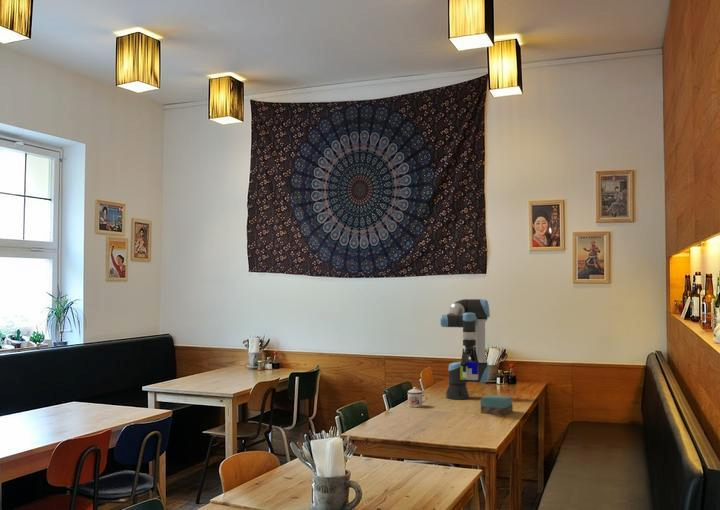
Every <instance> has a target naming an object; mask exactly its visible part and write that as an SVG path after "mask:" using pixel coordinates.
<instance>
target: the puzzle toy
mask: <svg viewBox="0 0 720 510" xmlns="http://www.w3.org/2000/svg"><path fill="white" fill-rule="evenodd" d="M459 362H460V380H478V378H479V361H474V360H471V359H470V360H469V359H468V363H467V370H468V378H464V377H463V366H461V361H459Z"/></svg>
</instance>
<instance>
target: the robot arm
mask: <svg viewBox="0 0 720 510" xmlns="http://www.w3.org/2000/svg"><path fill="white" fill-rule="evenodd" d="M489 305H490V304H489V302H488V300H487V299H483V298H482V299H481V298H475V299H474V298H473V299H472V298H471V299H469V298H468V299H467V298H463V299H460V300H457V301H455V302H453V303H452V304H451V306H450V307H449V311H448V313H447V314H442V315H440V318H439V319H440V326H441V328H462V346H464V348H462V355H461V361H454V362H451V363H449V364H448V370H447V371H448V385H447V386H448V387H447V389H446V390H447V391H446V393H445V397H446V399H450V400H467V399H470V392H469V390H468V387H467V383H482V384H483V383H487V382H488V381H489V377H490V370H491V365H490V364H489V363H488V362H489V361H487V359H486V322H487V321H488V318H490V317H491V314H490V313H491V312H490V306H489ZM469 359H470V360H474V361H479V378H478V380H460V362H461V366H463V377H464V378H468V370H467V363H468V360H469Z"/></svg>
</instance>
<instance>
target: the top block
mask: <svg viewBox="0 0 720 510" xmlns="http://www.w3.org/2000/svg"><path fill="white" fill-rule="evenodd" d="M511 405H513V396H504V395H495V394H488V395H486V396H483V397H480V407H481V406H483V407H492V408H501V409H504V408H506V407H509V406H511Z"/></svg>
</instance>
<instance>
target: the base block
mask: <svg viewBox="0 0 720 510" xmlns="http://www.w3.org/2000/svg"><path fill="white" fill-rule="evenodd" d="M513 412H514V411H513V404H512V405H511V406H509V407H506V408H504V409H501V408H492V407H483V406H481V405H480V414H483V415H491V416H492V415H493V416H501V417H505V416H507V415H509V414H511V413H513Z"/></svg>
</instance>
